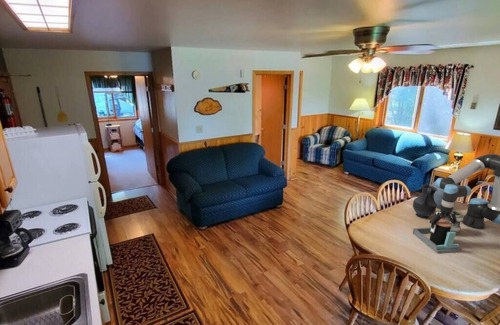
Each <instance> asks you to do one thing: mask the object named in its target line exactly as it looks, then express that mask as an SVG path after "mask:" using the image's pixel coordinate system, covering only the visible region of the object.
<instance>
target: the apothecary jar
mask: <svg viewBox="0 0 500 325" xmlns="http://www.w3.org/2000/svg"><path fill="white" fill-rule="evenodd" d="M453 211H455V215H456V219H457V222H455V224H454V225H453V227H452V230H451V231H450V232H455V233H456V235H455V237H457V236H458V232H460V231H461V230H462V227H461V223H462V221H463V217H464V216H462V215H463V214H462V213H461V212H460V211H458V210H454V209H453ZM450 216H451V218H452V215H451V214H450ZM445 220H447V221H449V222H451V221H450V220H449V218H448V217H447V218H446V217H445Z"/></svg>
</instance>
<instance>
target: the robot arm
mask: <svg viewBox="0 0 500 325" xmlns="http://www.w3.org/2000/svg"><path fill="white" fill-rule="evenodd" d="M485 169H486V170H487V169H489V170H492V171H493V172H492V173H493V176H494V181H493V182H494V183H493V187H492V192H491V199H490V201H489V200H487V199H485V198H479V197H474V198H471V199H470V200H469V203H468V207H467V210H466V214H465V215H464V216H462V217H463V221H462V222H461V223H462V224H463V225H464V226H466V227H469V228H472V229H475V230H476V229H477V230H482V229H485V225H486V224H485V219H486V220H488V221H489V222H490V221H491V222H492V223H494V224H497V225H500V154H496V153H490V154H489V153H488V154H484V155H479V156H478V157H475V158H474V159H472V160H471V162H470V163H468V164H466V165H465V166H463V167H462V168H460V169H458V170H457V171H455V172H453V173H452V174H450V175H448V176H446V177H445V178H443V177H438V178H437V179H436V180H435V181H436V182H435V181H434V182H435V185H436V186H437V187H439V188H441V189H443V190H444V193H443V198H442V202H441V206H440V208H439V211H438V210H435V212H434V215H432V217H431V218H430V220H429V224H430V227H431V231H432V232H433V233H434V232H435V227H436V225H435V224H436V223H437V222H438V221H439V220H440V219H446V218H447V217H448V218H449V220H450V221H451V222H450V223H451V224H452V225H451V229H450V231H451V230H452V227H453V225H454V224H455V222H457V219H456V215H455V211H456V210H454V208H455V203H456V199H457V198H462V197H463V198H464V197H468V196H470V195H471V194H472V189H471V187H470V186H469V185H461V184H459V183H460V182H462V181H464V180H465V179H467V178H469V177H471V176H472V175H474V174H476V173H478V172H479V171H483V170H485ZM453 210H454V211H453ZM450 214H451V215H452V218H451V216H450Z"/></svg>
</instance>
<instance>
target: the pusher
mask: <svg viewBox="0 0 500 325" xmlns="http://www.w3.org/2000/svg"><path fill="white" fill-rule="evenodd" d="M455 235H456V233H455V232H448V233H447V237H446V240H445V244H444V245H437V246H438V250H443V249H456V248H459V246H460V244H459V243H454V241H455V237H456V236H457V235H456V236H455Z"/></svg>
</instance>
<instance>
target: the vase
mask: <svg viewBox="0 0 500 325" xmlns="http://www.w3.org/2000/svg"><path fill="white" fill-rule="evenodd" d="M435 182H436V180H434V181H433V182H432V184H430V185H431V186H435V187H436V188H437V189H438V190H437V191H436V192H435V193H434V201H435V203H436V204H437V207H436V209H440V206H441V202H442V198H443V193H444V190H443V189H441V188H439V187H437V186H436V185H435Z"/></svg>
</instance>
